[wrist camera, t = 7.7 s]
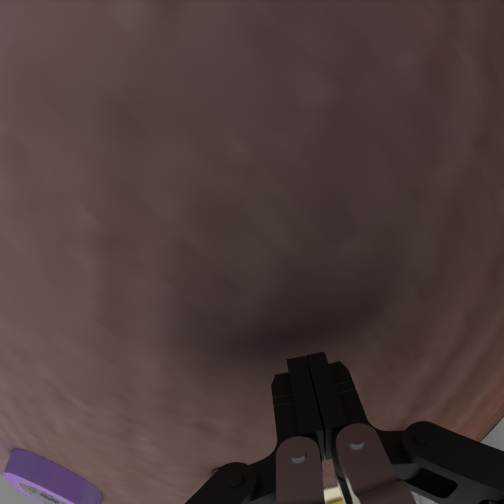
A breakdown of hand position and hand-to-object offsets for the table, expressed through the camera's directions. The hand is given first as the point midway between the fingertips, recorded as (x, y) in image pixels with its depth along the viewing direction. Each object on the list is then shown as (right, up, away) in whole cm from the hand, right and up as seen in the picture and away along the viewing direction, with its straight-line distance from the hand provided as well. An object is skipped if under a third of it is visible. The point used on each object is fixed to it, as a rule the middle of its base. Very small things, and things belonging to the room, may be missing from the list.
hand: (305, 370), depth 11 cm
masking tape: (-24, -21, +11) cm, 34 cm away
